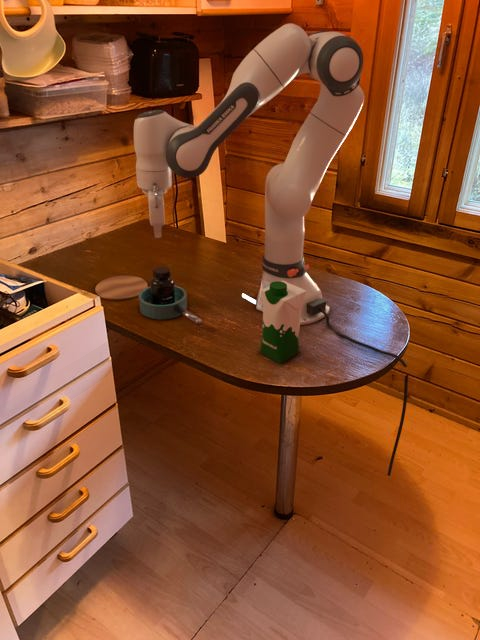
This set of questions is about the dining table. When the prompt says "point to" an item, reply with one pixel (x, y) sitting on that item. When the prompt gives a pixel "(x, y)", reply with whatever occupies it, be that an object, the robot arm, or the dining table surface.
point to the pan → (161, 310)
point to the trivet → (120, 287)
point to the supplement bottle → (162, 287)
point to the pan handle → (188, 315)
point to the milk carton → (281, 320)
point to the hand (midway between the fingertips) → (157, 230)
